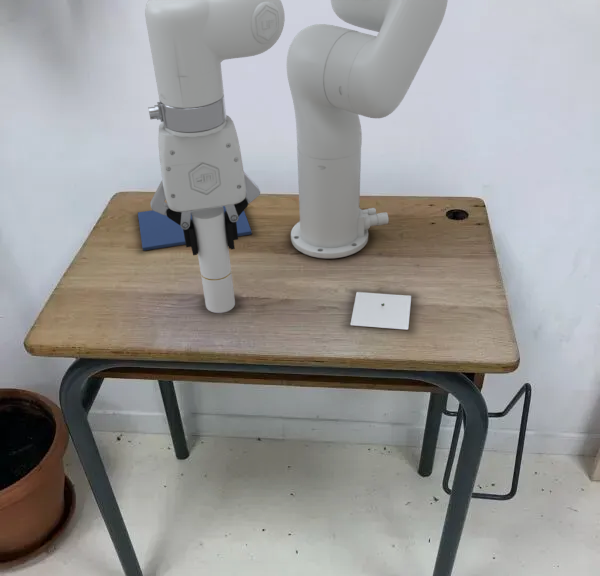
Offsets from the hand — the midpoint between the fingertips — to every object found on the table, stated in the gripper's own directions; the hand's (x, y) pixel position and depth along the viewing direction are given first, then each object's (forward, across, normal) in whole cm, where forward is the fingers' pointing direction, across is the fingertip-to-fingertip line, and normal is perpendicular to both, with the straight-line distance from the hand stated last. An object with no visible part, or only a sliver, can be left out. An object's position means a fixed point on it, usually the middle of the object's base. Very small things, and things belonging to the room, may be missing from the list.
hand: (212, 245), depth 94 cm
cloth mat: (+10, -1, +24) cm, 26 cm away
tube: (+10, 0, 0) cm, 10 cm away
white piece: (+10, +22, -8) cm, 25 cm away
